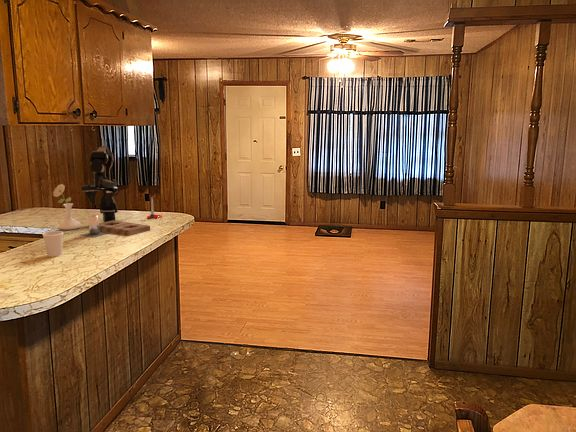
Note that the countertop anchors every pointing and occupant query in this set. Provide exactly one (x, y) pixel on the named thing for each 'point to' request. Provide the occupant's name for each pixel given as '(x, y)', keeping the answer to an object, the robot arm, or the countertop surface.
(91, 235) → the rubber mat
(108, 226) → the hole block
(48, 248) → the dixie cup
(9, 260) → the countertop surface
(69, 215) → the flower in vase
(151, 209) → the tow hook
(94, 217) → the steel peg
